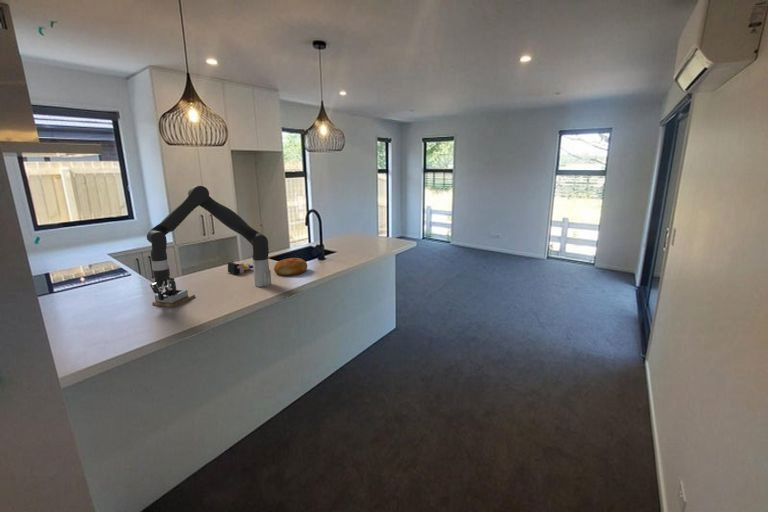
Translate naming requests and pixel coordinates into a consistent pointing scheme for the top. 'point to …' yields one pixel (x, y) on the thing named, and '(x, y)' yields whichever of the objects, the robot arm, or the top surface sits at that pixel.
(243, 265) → the toy
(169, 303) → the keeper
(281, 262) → the bread
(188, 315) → the top surface
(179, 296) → the link
